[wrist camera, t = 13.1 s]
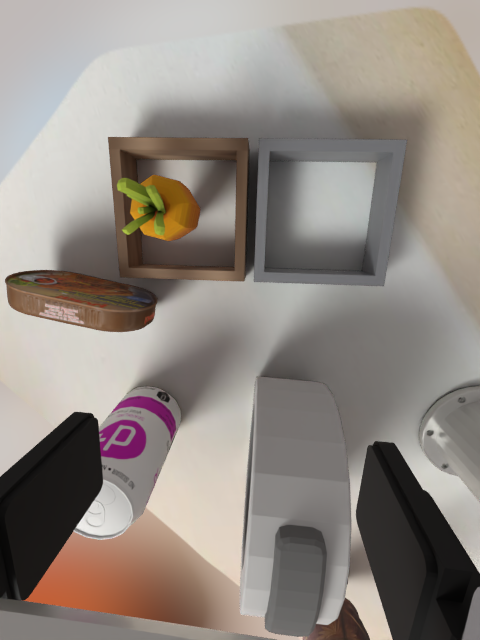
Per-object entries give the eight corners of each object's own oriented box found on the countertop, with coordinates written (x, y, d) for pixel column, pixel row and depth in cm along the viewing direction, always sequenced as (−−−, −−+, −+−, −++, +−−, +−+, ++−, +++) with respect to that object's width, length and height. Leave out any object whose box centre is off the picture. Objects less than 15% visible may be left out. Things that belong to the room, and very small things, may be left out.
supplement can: (123, 379, 40) (45, 462, 25) (185, 389, 39) (142, 479, 25) (121, 431, 42) (48, 535, 27) (179, 441, 42) (137, 551, 27)
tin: (167, 293, 36) (140, 310, 28) (163, 318, 37) (136, 341, 29) (44, 265, 36) (-19, 274, 28) (43, 290, 37) (-18, 307, 29)
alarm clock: (257, 354, 37) (255, 480, 18) (318, 360, 37) (379, 493, 18) (245, 492, 43) (233, 694, 24) (297, 497, 43) (326, 706, 24)
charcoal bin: (388, 151, 30) (407, 139, 27) (370, 280, 34) (384, 286, 30) (259, 150, 31) (259, 138, 27) (254, 276, 35) (253, 281, 31)
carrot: (215, 235, 34) (183, 237, 19) (172, 242, 34) (109, 248, 20) (208, 188, 32) (166, 151, 18) (163, 195, 33) (88, 166, 19)
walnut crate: (249, 150, 31) (248, 138, 27) (245, 276, 35) (244, 281, 31) (126, 148, 32) (107, 137, 28) (135, 272, 36) (120, 277, 32)
